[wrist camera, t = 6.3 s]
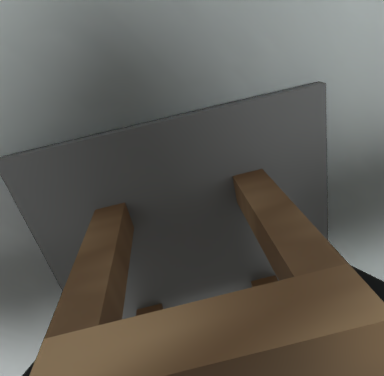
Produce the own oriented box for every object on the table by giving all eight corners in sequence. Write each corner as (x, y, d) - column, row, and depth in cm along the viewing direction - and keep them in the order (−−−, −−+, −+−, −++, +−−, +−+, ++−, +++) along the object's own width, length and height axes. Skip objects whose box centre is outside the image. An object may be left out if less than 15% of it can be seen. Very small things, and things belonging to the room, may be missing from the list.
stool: (262, 168, 10) (397, 317, 4) (277, 293, 12) (377, 491, 7) (94, 209, 10) (14, 413, 4) (143, 326, 12) (132, 552, 7)
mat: (319, 81, 9) (325, 83, 9) (324, 311, 13) (328, 318, 13) (0, 157, 9) (-7, 161, 9) (107, 364, 13) (106, 372, 13)
